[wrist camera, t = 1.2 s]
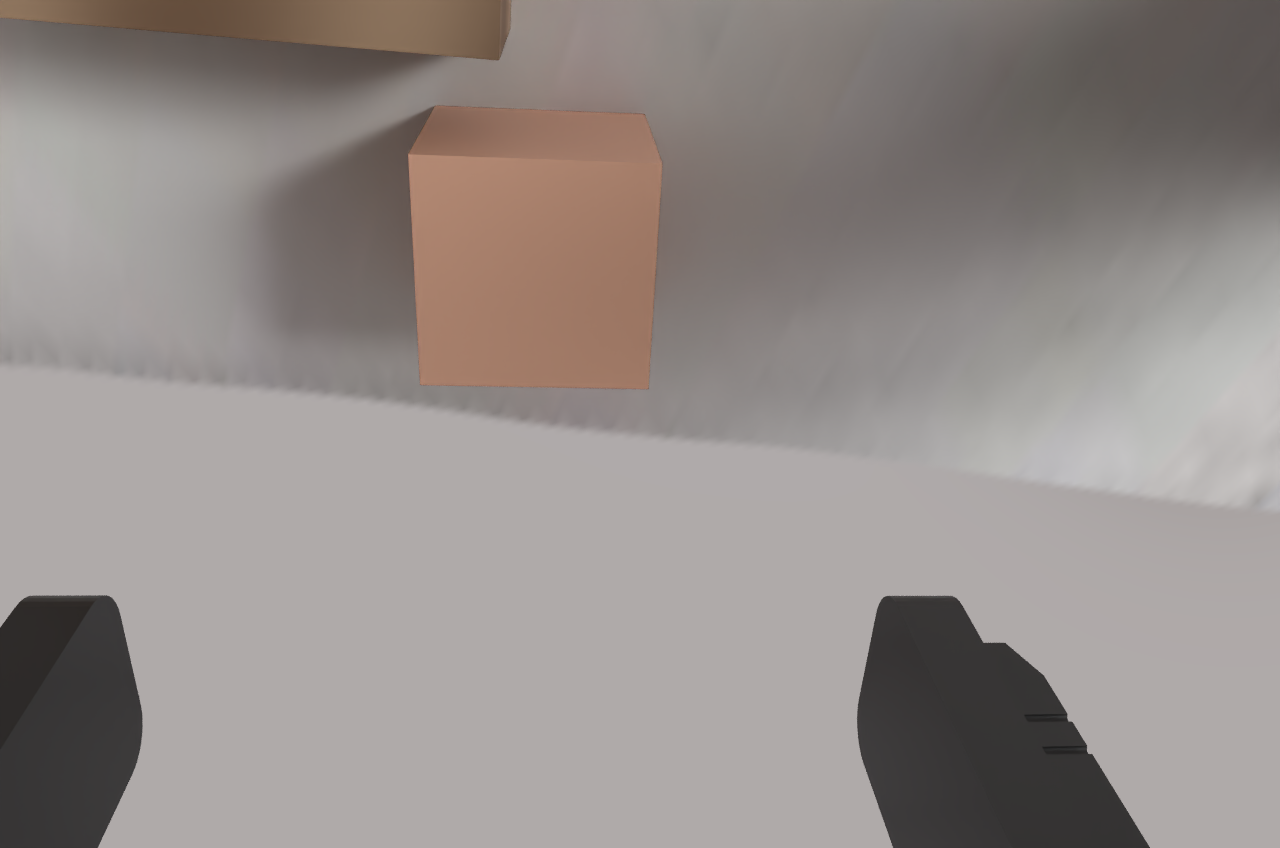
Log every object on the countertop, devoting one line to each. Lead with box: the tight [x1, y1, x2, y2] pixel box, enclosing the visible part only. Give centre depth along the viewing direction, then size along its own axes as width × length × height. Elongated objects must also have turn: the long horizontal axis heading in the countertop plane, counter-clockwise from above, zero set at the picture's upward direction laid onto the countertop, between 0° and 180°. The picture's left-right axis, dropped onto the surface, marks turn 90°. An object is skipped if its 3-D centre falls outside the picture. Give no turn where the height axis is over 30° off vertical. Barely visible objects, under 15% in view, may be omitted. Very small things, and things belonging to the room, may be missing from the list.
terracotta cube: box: [408, 106, 662, 389], centre depth 24 cm, size 5×5×5 cm
